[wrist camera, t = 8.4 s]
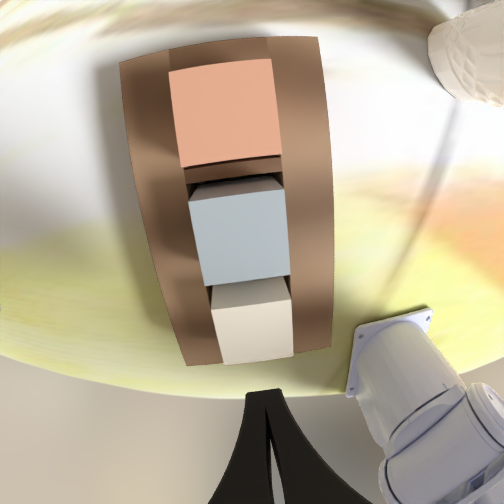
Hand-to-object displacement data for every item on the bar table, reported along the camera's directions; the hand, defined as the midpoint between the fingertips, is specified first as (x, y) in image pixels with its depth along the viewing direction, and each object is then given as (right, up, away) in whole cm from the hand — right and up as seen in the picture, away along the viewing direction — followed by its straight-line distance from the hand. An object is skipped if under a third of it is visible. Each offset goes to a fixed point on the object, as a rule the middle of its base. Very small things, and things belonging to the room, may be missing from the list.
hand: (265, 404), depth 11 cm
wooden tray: (-1, +9, +7) cm, 11 cm away
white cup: (+15, +21, +3) cm, 26 cm away
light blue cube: (-1, +8, +6) cm, 10 cm away
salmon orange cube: (-2, +13, +3) cm, 14 cm away
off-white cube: (-1, +3, +8) cm, 9 cm away
